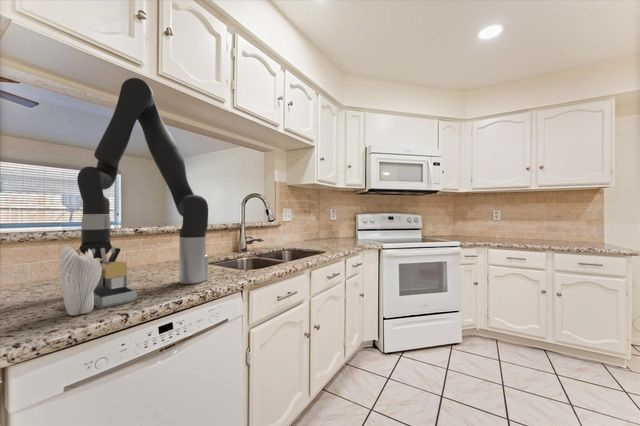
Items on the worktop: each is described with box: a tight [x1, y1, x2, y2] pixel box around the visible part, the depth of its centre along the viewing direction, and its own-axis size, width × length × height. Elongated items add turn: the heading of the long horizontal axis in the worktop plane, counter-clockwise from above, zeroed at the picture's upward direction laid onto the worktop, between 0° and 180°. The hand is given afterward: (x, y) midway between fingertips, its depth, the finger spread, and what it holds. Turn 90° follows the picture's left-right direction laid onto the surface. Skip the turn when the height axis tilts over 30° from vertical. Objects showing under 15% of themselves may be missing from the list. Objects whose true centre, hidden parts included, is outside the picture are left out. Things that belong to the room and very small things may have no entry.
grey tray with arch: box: [93, 266, 138, 310], centre depth 84 cm, size 9×14×9 cm, turn 54°
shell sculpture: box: [58, 245, 102, 317], centre depth 73 cm, size 8×8×18 cm
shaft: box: [98, 260, 124, 289], centre depth 87 cm, size 3×21×8 cm, turn 54°
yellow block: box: [101, 260, 127, 279], centre depth 82 cm, size 5×4×4 cm
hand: (95, 279), depth 92 cm, fingers closed on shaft, 3 cm apart
